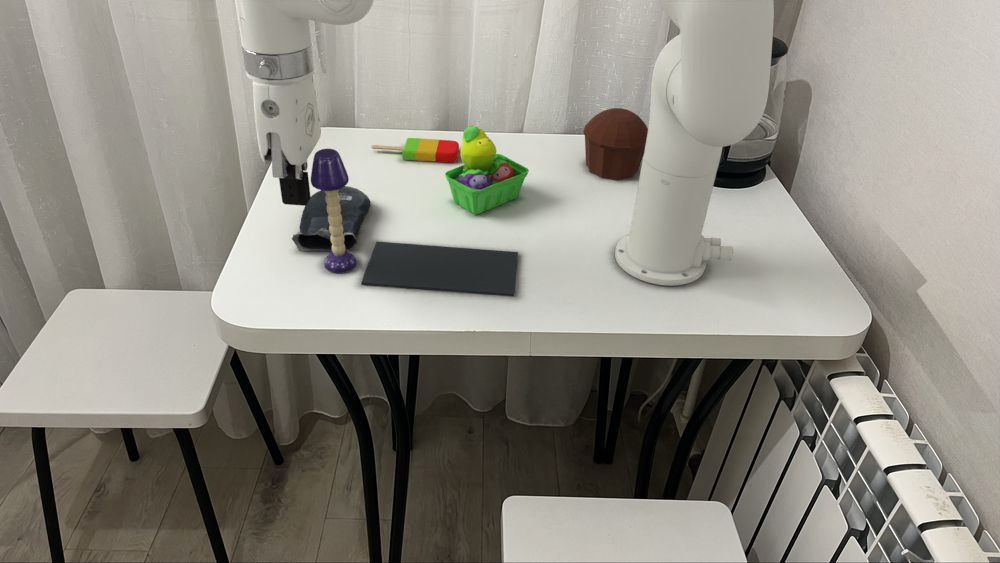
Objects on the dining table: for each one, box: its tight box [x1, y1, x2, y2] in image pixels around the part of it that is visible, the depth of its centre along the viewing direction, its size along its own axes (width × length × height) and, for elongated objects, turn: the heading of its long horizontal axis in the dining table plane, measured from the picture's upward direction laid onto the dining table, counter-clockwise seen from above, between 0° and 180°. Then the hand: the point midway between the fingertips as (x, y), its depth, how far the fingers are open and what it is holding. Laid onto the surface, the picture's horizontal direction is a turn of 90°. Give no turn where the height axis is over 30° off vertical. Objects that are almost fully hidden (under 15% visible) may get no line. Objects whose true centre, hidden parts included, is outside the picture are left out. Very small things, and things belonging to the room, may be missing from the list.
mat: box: [360, 241, 519, 297], centre depth 101 cm, size 20×10×1 cm, turn 87°
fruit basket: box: [444, 125, 530, 216], centre depth 114 cm, size 11×9×11 cm
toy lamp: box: [310, 148, 357, 274], centre depth 95 cm, size 5×5×17 cm
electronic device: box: [291, 185, 371, 252], centre depth 108 cm, size 9×6×15 cm
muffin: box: [582, 107, 648, 181], centre depth 125 cm, size 12×11×10 cm
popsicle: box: [370, 137, 460, 163], centre depth 128 cm, size 6×15×2 cm, turn 88°
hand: (296, 201), depth 95 cm, fingers closed
